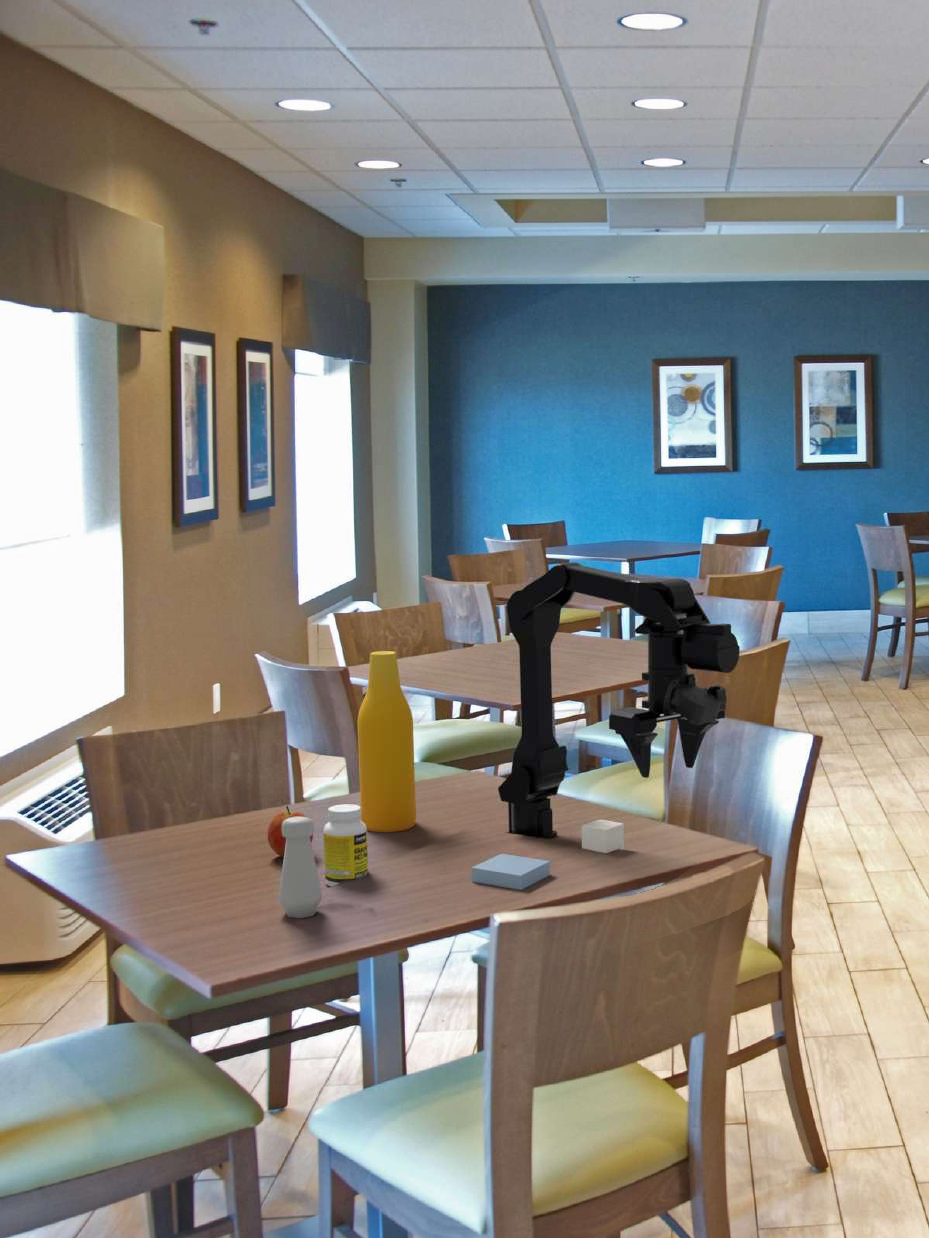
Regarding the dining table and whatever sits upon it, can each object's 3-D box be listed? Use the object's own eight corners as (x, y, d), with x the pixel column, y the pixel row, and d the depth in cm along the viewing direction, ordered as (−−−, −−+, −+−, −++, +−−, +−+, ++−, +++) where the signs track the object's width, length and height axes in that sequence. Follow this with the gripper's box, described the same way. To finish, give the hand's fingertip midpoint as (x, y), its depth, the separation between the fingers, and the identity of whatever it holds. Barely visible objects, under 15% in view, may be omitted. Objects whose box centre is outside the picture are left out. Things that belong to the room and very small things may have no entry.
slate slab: (471, 881, 192) (471, 867, 192) (501, 867, 198) (501, 853, 198) (521, 889, 187) (520, 875, 187) (550, 874, 194) (549, 861, 194)
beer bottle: (427, 822, 230) (422, 650, 227) (395, 835, 222) (389, 657, 219) (382, 816, 235) (376, 647, 232) (349, 828, 227) (343, 655, 224)
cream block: (582, 857, 207) (581, 825, 207) (600, 850, 210) (599, 819, 210) (606, 862, 204) (605, 829, 204) (624, 855, 207) (623, 823, 207)
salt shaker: (280, 907, 187) (276, 813, 186) (322, 904, 188) (319, 811, 186) (278, 921, 181) (274, 824, 180) (322, 918, 182) (318, 822, 180)
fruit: (322, 852, 213) (320, 802, 212) (298, 864, 207) (296, 812, 206) (284, 848, 216) (282, 798, 215) (259, 860, 210) (257, 809, 209)
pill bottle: (362, 890, 194) (359, 813, 192) (319, 888, 195) (317, 812, 194) (373, 877, 200) (371, 802, 198) (332, 875, 201) (330, 801, 200)
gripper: (663, 680, 186) (663, 793, 188) (754, 665, 197) (753, 772, 199) (606, 671, 195) (606, 778, 197) (696, 657, 206) (695, 759, 208)
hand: (667, 772), depth 200 cm, fingers open, 9 cm apart
